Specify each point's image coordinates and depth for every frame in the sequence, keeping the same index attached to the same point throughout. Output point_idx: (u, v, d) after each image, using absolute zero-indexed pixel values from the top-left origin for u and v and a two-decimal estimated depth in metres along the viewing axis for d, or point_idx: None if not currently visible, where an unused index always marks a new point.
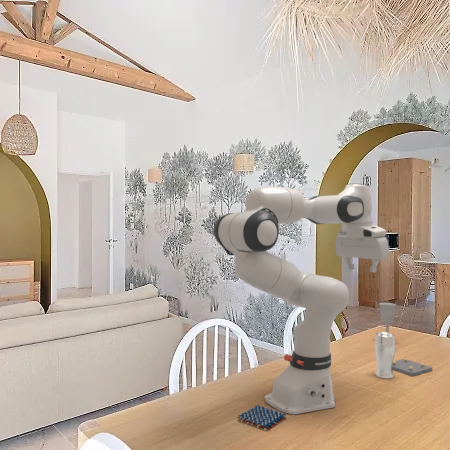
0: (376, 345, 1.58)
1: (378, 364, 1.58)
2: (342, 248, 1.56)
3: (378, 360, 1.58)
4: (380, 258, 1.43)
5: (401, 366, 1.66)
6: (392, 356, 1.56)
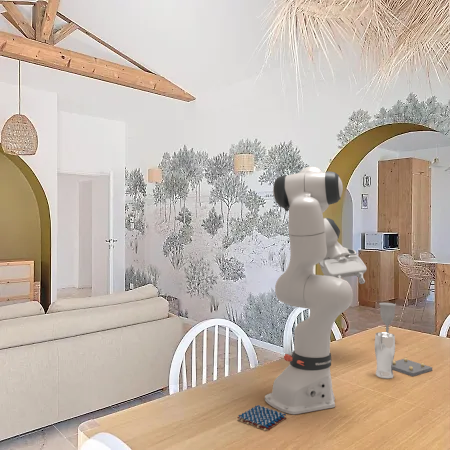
0: (376, 345, 1.58)
1: (378, 364, 1.58)
2: (333, 267, 1.71)
3: (378, 360, 1.58)
4: (366, 268, 1.77)
5: (401, 366, 1.66)
6: (392, 356, 1.56)
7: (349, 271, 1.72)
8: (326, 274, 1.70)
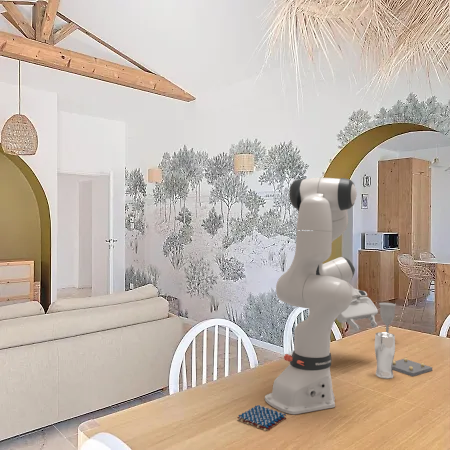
0: (376, 345, 1.58)
1: (378, 364, 1.58)
2: (346, 310, 1.66)
3: (378, 360, 1.58)
4: (377, 311, 1.73)
5: (401, 366, 1.66)
6: (392, 356, 1.56)
7: (361, 314, 1.68)
8: (338, 317, 1.64)
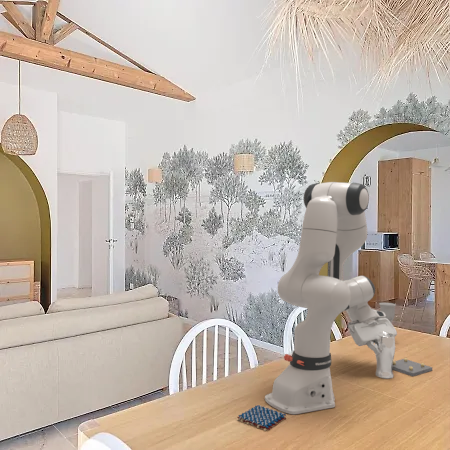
0: (376, 345, 1.58)
1: (378, 364, 1.58)
2: (364, 333, 1.58)
3: (378, 360, 1.58)
4: (396, 333, 1.66)
5: (401, 366, 1.66)
6: (392, 356, 1.56)
7: None
8: (357, 340, 1.57)
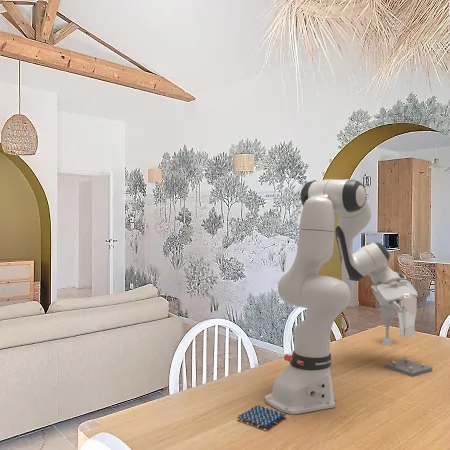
0: None
1: (401, 323, 1.65)
2: (387, 293, 1.65)
3: (401, 320, 1.65)
4: (417, 294, 1.72)
5: (401, 366, 1.66)
6: (414, 315, 1.63)
7: None
8: (380, 300, 1.64)
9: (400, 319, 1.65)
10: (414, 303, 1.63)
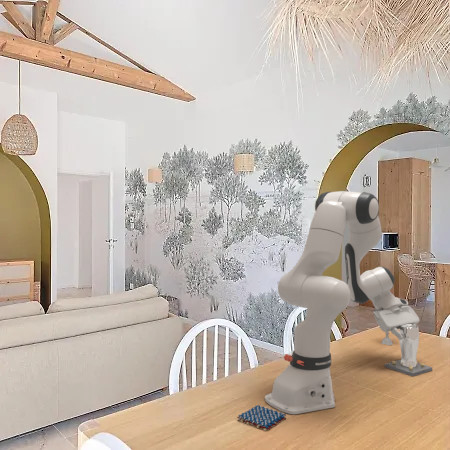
0: None
1: (403, 354, 1.66)
2: (389, 319, 1.66)
3: (403, 350, 1.66)
4: None
5: (401, 366, 1.66)
6: (416, 346, 1.64)
7: (404, 323, 1.68)
8: (382, 326, 1.65)
9: (402, 350, 1.66)
10: (417, 334, 1.64)
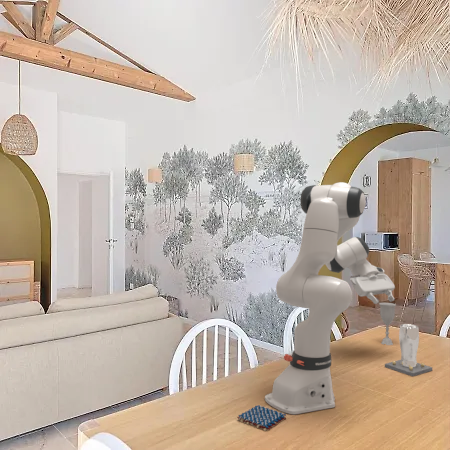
0: (401, 336, 1.66)
1: (403, 354, 1.66)
2: (365, 285, 1.75)
3: (403, 350, 1.66)
4: (394, 287, 1.82)
5: (401, 366, 1.66)
6: (416, 346, 1.64)
7: (379, 288, 1.77)
8: (358, 291, 1.74)
9: (402, 350, 1.66)
10: (417, 334, 1.64)
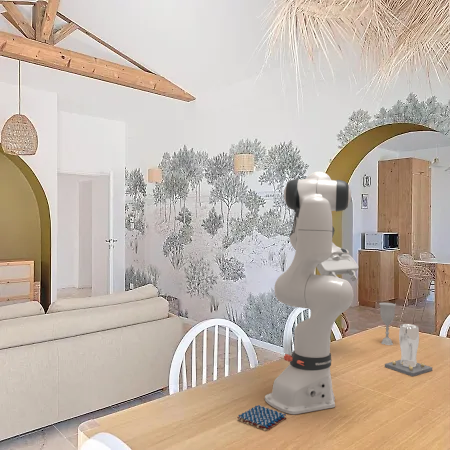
0: (401, 336, 1.66)
1: (403, 354, 1.66)
2: (328, 264, 1.79)
3: (403, 350, 1.66)
4: None
5: (401, 366, 1.66)
6: (416, 346, 1.64)
7: (342, 268, 1.81)
8: (321, 270, 1.77)
9: (402, 350, 1.66)
10: (417, 334, 1.64)
